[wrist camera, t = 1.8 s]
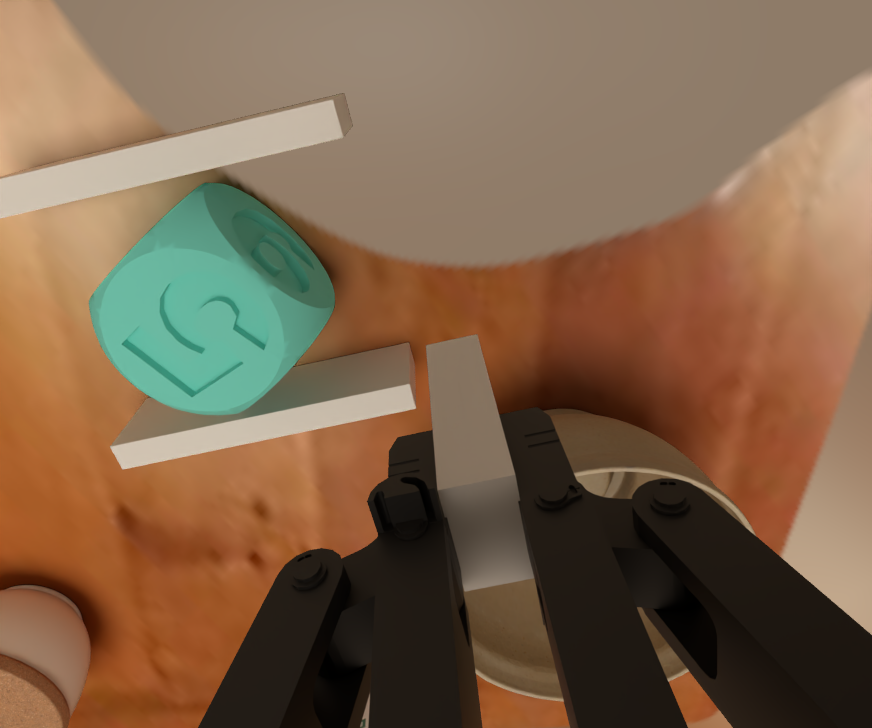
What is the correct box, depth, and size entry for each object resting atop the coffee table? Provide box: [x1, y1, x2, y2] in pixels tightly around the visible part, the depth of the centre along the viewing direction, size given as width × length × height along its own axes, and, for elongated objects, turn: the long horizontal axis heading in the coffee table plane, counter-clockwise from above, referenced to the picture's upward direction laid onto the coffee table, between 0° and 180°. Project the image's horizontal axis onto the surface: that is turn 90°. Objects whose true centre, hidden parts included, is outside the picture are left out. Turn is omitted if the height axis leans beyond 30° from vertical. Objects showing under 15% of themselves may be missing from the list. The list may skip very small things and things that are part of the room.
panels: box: [0, 93, 416, 469], centre depth 30 cm, size 16×15×5 cm
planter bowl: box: [463, 409, 756, 701], centre depth 35 cm, size 16×16×11 cm
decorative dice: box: [89, 183, 335, 415], centre depth 29 cm, size 8×8×8 cm
